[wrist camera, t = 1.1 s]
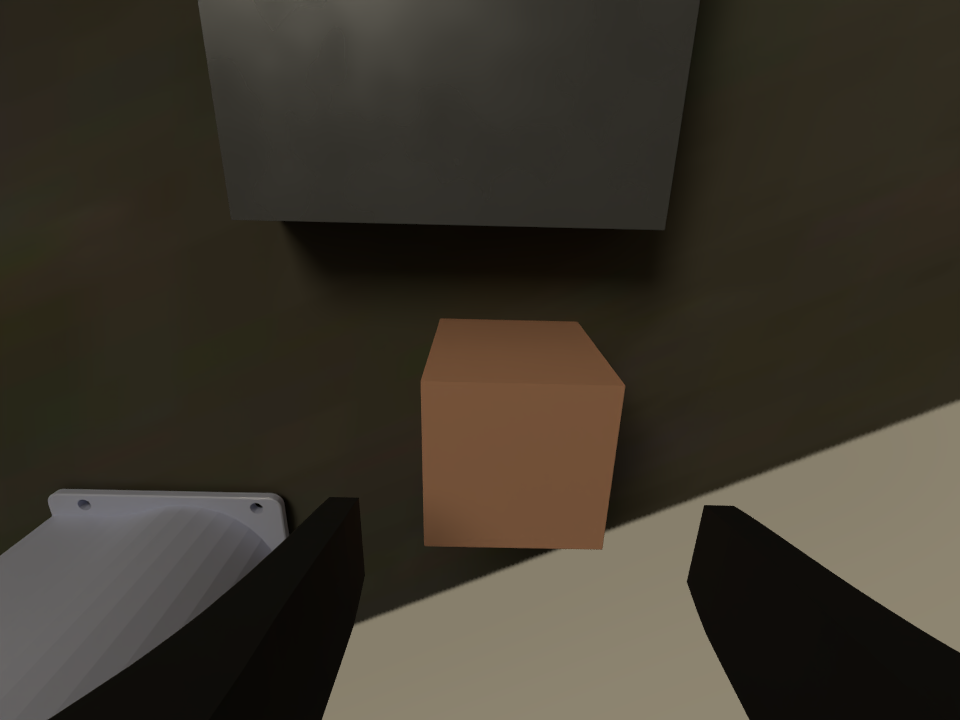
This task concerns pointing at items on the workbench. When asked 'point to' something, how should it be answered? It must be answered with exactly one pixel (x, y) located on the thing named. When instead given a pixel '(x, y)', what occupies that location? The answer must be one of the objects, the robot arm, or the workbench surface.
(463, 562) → the workbench surface
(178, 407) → the workbench surface
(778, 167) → the workbench surface
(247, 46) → the steel base
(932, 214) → the workbench surface
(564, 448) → the terracotta block
